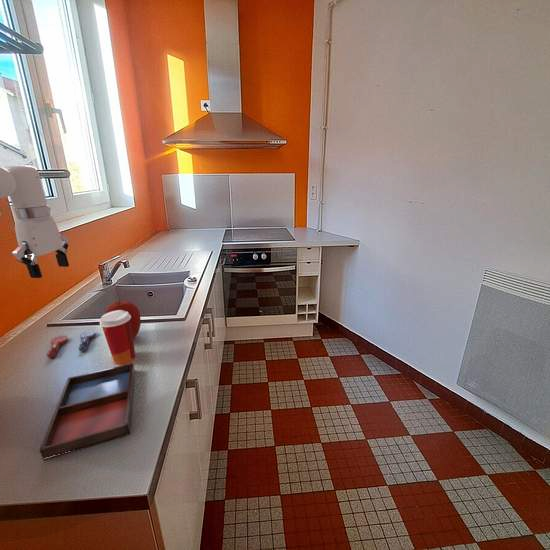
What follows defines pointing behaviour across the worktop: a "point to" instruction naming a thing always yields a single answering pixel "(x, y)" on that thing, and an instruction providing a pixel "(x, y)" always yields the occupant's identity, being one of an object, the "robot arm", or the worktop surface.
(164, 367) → the worktop surface
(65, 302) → the worktop surface
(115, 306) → the apple
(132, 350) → the paper cup
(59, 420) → the tray
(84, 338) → the blue spoon
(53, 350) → the red spoon
